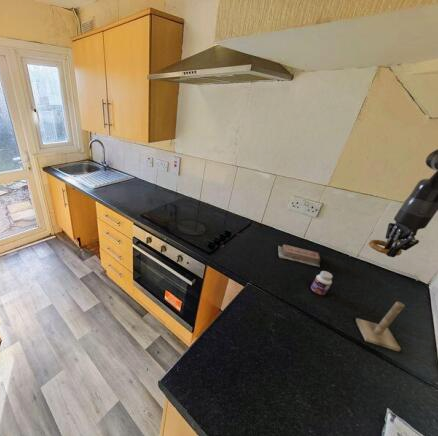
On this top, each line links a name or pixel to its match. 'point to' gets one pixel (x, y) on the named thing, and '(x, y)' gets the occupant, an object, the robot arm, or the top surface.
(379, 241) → the ring
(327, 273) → the pill bottle
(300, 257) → the packaged product
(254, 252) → the top surface
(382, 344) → the wooden peg stand
